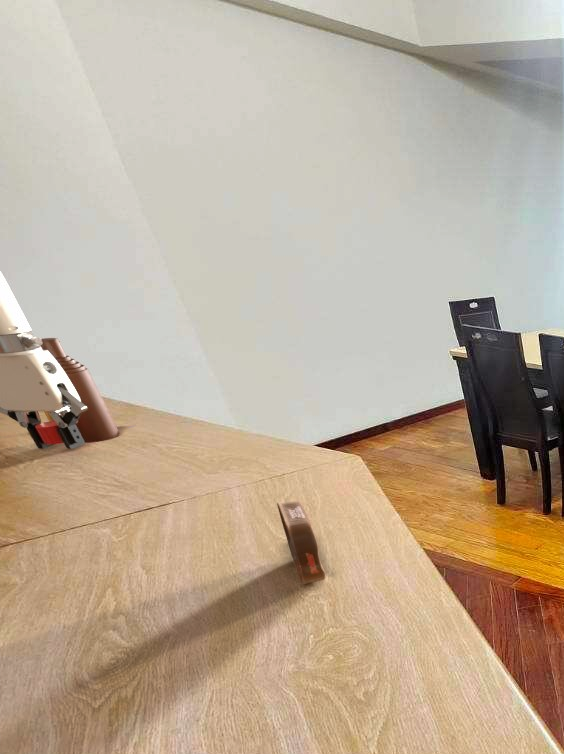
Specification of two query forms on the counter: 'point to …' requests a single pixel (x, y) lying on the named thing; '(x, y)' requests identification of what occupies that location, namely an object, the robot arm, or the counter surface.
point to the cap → (49, 432)
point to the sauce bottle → (84, 396)
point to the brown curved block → (301, 541)
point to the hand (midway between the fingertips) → (62, 445)
